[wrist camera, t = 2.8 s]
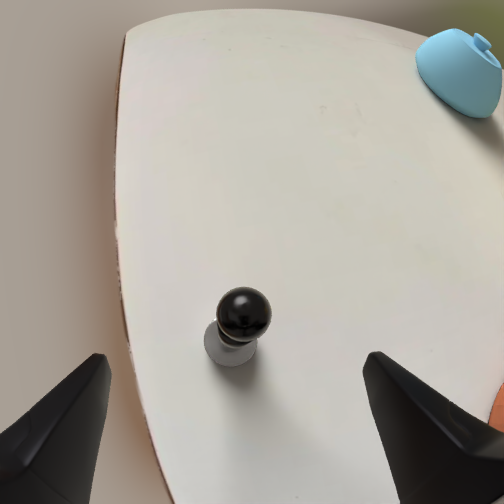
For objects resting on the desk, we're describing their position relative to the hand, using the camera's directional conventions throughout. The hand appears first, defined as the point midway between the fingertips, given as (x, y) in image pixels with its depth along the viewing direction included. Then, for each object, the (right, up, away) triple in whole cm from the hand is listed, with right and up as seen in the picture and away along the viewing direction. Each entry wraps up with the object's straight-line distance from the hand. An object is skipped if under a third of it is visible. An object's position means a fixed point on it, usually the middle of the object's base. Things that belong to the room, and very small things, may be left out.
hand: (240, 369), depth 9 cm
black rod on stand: (-1, -2, +10) cm, 10 cm away
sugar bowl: (+31, +29, +25) cm, 50 cm away
